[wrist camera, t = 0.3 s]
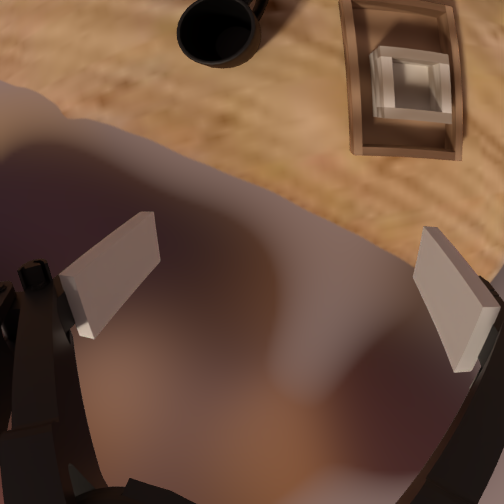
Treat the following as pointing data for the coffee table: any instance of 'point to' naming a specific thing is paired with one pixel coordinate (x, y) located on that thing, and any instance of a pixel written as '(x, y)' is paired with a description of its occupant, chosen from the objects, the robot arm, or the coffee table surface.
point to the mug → (220, 31)
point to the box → (402, 79)
